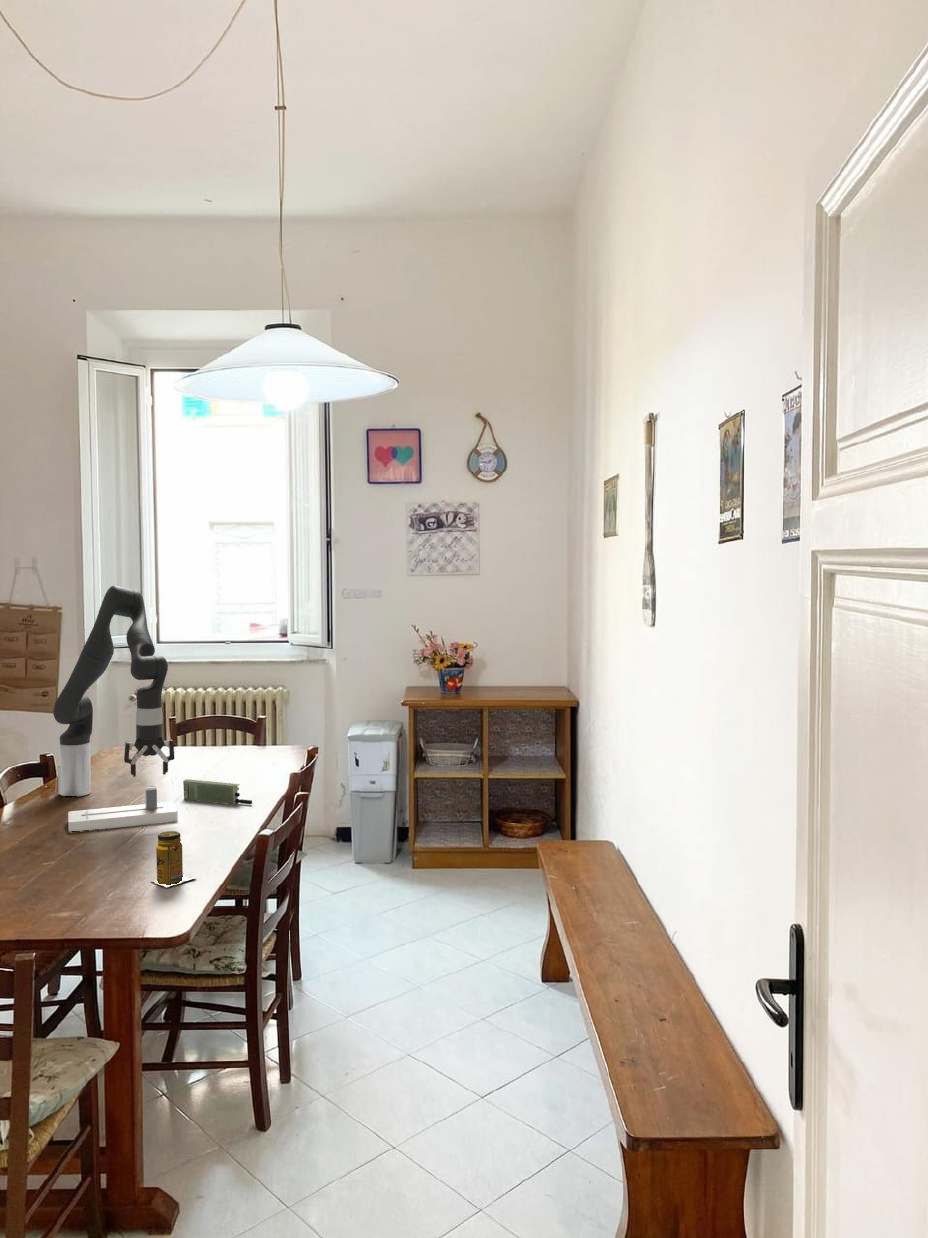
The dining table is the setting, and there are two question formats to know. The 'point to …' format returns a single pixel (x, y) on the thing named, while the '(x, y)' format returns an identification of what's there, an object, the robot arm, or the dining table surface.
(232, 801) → the handheld radio
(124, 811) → the console
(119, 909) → the dining table surface
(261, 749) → the dining table surface
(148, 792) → the block
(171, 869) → the condiment
